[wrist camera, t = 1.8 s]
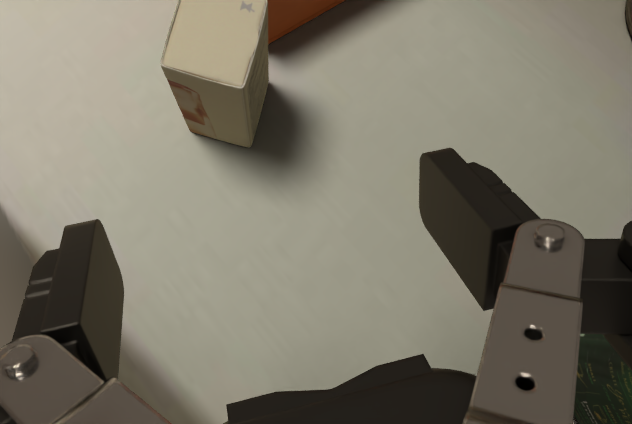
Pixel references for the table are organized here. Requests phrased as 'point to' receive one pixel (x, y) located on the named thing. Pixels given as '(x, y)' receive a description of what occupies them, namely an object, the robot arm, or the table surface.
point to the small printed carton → (219, 66)
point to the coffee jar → (602, 384)
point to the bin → (294, 14)
